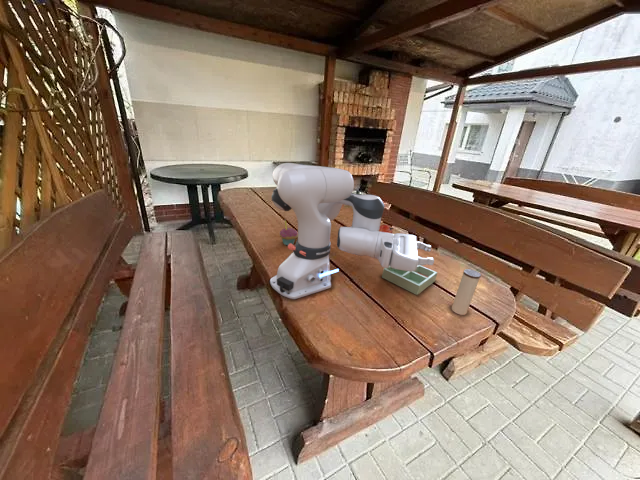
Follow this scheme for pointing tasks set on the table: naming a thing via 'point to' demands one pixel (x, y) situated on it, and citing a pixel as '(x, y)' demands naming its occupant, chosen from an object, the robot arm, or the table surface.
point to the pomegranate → (385, 228)
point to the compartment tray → (410, 278)
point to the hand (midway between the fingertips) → (432, 254)
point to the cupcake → (288, 235)
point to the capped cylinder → (465, 291)
